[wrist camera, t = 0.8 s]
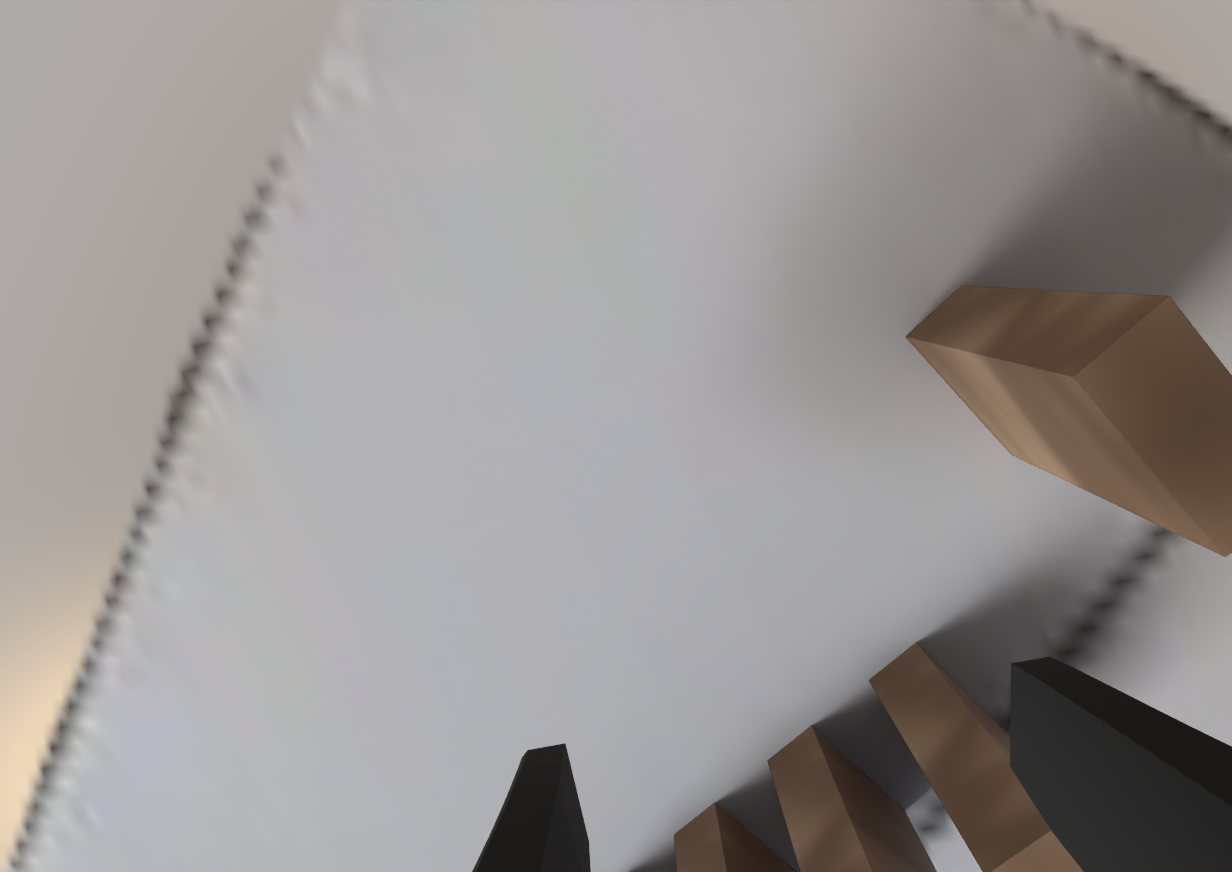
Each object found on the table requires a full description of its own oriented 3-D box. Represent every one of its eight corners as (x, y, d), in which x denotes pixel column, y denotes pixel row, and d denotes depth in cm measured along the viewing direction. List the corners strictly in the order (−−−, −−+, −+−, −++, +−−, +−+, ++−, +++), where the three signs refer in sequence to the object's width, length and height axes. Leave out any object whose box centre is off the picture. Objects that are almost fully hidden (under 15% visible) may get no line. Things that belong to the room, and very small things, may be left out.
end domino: (961, 285, 18) (1169, 296, 11) (1066, 408, 19) (1319, 487, 12) (905, 336, 18) (1073, 377, 11) (1011, 454, 19) (1226, 557, 12)
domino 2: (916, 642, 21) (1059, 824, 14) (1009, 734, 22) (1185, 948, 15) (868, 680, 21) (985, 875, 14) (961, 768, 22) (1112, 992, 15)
